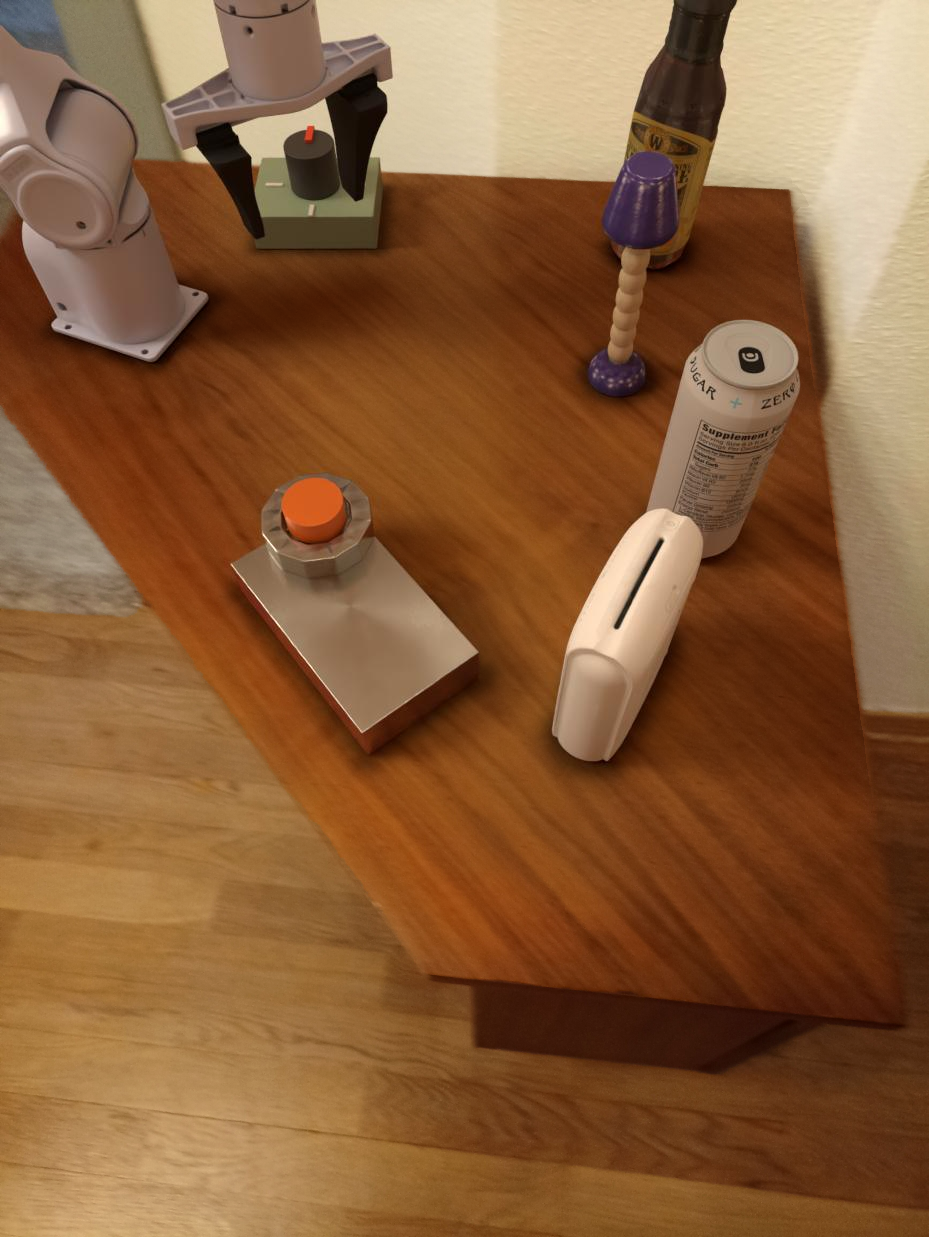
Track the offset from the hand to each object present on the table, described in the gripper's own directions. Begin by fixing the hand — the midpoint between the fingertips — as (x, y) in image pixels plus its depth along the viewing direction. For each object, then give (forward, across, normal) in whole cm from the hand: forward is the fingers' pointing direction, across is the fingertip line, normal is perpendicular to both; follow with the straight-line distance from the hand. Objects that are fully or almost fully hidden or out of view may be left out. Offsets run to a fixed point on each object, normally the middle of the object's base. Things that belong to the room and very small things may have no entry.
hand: (304, 211), depth 61 cm
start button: (+4, +11, +21) cm, 24 cm away
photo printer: (+9, 0, +38) cm, 39 cm away
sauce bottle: (+9, -26, +8) cm, 28 cm away
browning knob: (+6, -5, -10) cm, 13 cm away
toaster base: (+9, +12, +27) cm, 31 cm away
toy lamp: (+9, -15, +18) cm, 25 cm away
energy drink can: (+9, -11, +32) cm, 35 cm away
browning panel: (+9, -5, -10) cm, 15 cm away
